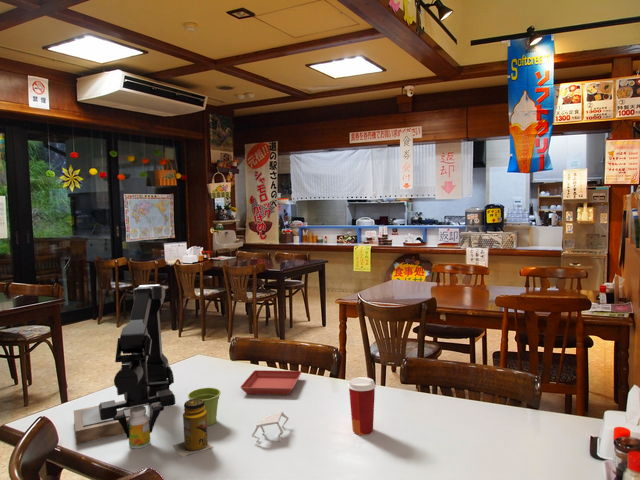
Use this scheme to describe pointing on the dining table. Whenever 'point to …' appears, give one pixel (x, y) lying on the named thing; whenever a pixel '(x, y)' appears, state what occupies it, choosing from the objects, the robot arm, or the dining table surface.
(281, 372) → the plant saucer
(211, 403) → the plant pot
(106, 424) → the framed mirror
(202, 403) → the condiment
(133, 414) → the supplement bottle
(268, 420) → the miniature table
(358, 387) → the paper cup
